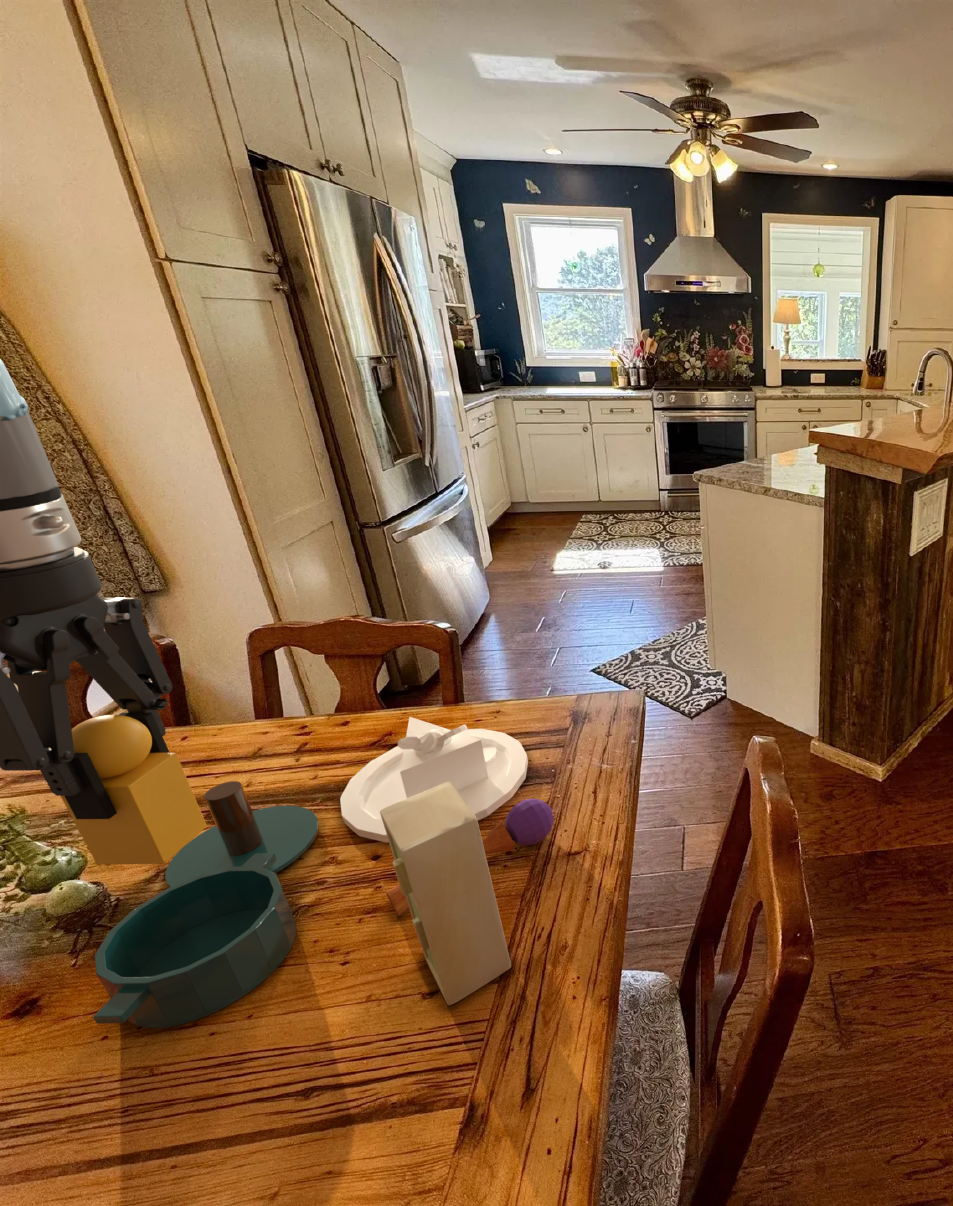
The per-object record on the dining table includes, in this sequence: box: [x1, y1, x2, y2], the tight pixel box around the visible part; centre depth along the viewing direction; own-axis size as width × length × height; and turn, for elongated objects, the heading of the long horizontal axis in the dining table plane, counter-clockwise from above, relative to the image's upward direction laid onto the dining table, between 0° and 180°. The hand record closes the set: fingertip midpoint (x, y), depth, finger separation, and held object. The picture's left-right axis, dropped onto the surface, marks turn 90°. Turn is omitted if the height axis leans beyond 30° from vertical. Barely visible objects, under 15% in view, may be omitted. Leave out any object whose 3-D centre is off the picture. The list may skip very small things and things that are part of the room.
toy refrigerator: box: [380, 782, 512, 1006], centre depth 66 cm, size 8×7×21 cm
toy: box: [60, 714, 208, 866], centre depth 59 cm, size 6×6×14 cm
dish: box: [339, 716, 529, 843], centre depth 95 cm, size 25×25×11 cm
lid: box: [164, 780, 320, 888], centre depth 82 cm, size 15×15×10 cm
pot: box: [92, 853, 297, 1029], centre depth 68 cm, size 14×20×6 cm
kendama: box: [385, 798, 555, 917], centre depth 82 cm, size 6×6×20 cm
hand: (129, 792), depth 59 cm, fingers closed on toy, 5 cm apart
